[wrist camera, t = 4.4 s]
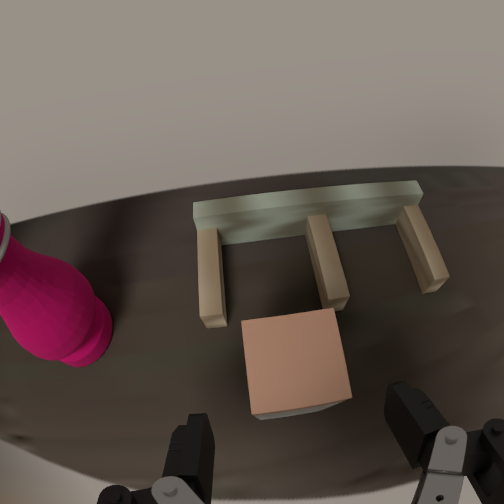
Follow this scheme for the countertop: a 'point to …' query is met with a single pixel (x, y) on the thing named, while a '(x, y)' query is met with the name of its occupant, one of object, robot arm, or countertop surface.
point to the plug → (294, 364)
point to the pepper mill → (50, 305)
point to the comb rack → (312, 234)
